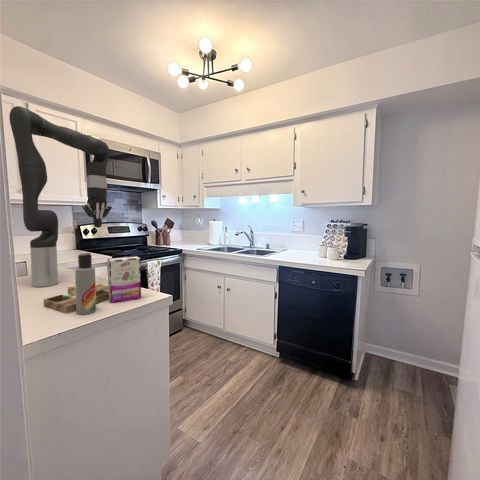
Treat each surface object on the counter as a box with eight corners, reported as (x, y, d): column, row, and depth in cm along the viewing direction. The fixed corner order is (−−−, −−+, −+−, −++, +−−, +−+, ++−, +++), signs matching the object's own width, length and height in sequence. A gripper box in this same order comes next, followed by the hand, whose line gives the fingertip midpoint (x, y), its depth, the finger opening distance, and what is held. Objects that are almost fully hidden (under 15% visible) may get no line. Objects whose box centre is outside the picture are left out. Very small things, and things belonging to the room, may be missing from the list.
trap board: (43, 306, 90) (43, 299, 90) (100, 289, 110) (100, 284, 110) (66, 313, 85) (66, 306, 84) (122, 295, 104) (122, 289, 104)
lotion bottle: (98, 311, 87) (97, 253, 85) (79, 316, 83) (77, 255, 81) (92, 307, 91) (91, 251, 89) (74, 311, 87) (72, 253, 84)
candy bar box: (137, 295, 105) (137, 255, 104) (141, 298, 101) (141, 257, 100) (107, 299, 99) (107, 258, 97) (110, 303, 95) (109, 260, 93)
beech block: (67, 293, 96) (67, 286, 96) (80, 290, 101) (80, 283, 100) (76, 296, 94) (75, 288, 94) (89, 292, 99) (88, 284, 98)
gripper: (105, 188, 117) (105, 226, 119) (76, 185, 105) (77, 227, 107) (116, 188, 114) (116, 227, 116) (88, 185, 102) (88, 228, 104)
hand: (97, 227), depth 112 cm, fingers closed
